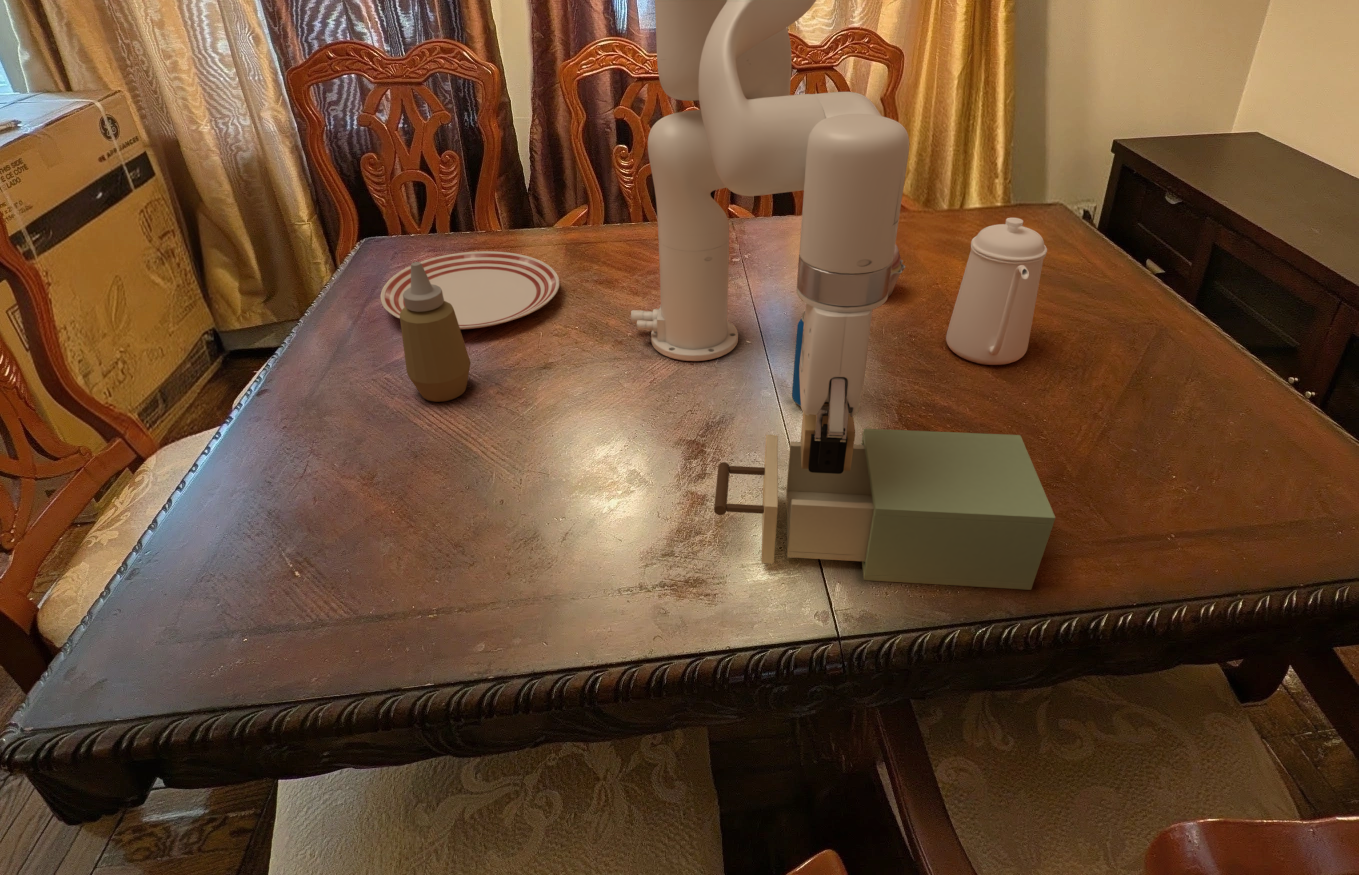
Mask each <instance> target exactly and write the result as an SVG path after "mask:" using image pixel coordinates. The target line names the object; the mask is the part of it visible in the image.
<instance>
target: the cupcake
mask: <svg viewBox="0 0 1359 875" xmlns="http://www.w3.org/2000/svg"><path fill="white" fill-rule="evenodd" d="M899 249H900V248H899V246H898V244H897V243H895V250H894V257H893V264H892V271H891V278H890V284H889V291H888V298H889V297H890V296H891V295H892V294H893V292H894V290H895V287H896V284H897V282H898V280H899V278H900V276H901V275H902V273H903V272H904V271H905V269H906V267H907V266H906V265H905V264H903V262H904V260H903V259H901V253H900V250H899Z"/></svg>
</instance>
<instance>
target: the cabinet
mask: <svg viewBox="0 0 1359 875" xmlns="http://www.w3.org/2000/svg"><path fill="white" fill-rule="evenodd" d="M860 444H861V445H864V447H865V454H866V460H867V467H868V474H869V480H870V487H871V494H872V500H873V507H874V512H873V518H872V524H871V530H870V536H869V542H868V548H867V554H866V560H865V562H864V561H861V567H862V576H863V577H862V578H863V581H872V582H873V581H874V582H888V583H889V582H890V583H904V584H905V583H906V584H907V583H908V584H924V585H925V584H926V585H939V586H940V585H941V586H955V587H956V586H957V587H958V586H959V587H975V588H990V589H1007V590H1008V589H1010V590H1026V591H1027V590H1028V591H1031V590H1032V589H1033V586H1034V582H1035V579H1036V577H1037V574H1038V571H1039V568H1040V566H1041V562H1042V559H1043V557H1044V553H1045V550H1046V548H1047V544H1048V541H1049V538H1050V536H1051V533H1052V529H1053V527H1054V523H1055V520H1056V515H1055V512H1054V510H1053V508H1052V505H1051V503H1050V501H1049V499H1048V496H1047V494H1046V492H1045V489H1044V487H1043V484H1042V482H1041V480H1040V477H1039V475H1038V473H1037V471H1036V469H1035V465H1034V464H1033V461H1032V459H1031V456H1030V454H1029V452H1028V450H1027V447H1026V445H1025V442H1024V440H1023V438H1022V435H1021V434H1006V433H1005V434H1004V433H983V432H982V433H981V432H959V431H958V432H956V431H955V432H954V431H933V430H930V431H929V430H909V429H908V430H906V429H886V428H863V429H862V436H861V442H860Z"/></svg>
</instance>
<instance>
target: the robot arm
mask: <svg viewBox="0 0 1359 875" xmlns="http://www.w3.org/2000/svg"><path fill="white" fill-rule="evenodd" d="M816 2H817V0H654V12H655V13H654V14H655V16H654V17H655V39H656V40H655V41H656V42H655V43H656V44H655V45H656V62H657V63H656V66H657V72H658V80H659V84H660V86H661V88H662V90H663V93H665V94H666V96H668V97H670V98H671V99H674V100H677V101H678V100H679V101H686V102H687V101H689V102H691V101H693V102H694V101H698V102H699V107H700V109H694V110H693V109H692V110H684V111H678V112H675V113H671V114H668V115H666V116H665V115H664V116H663V117H661V118H660V119H658V120H657V121H656V122H655V123H654V124H653V125H652V127H651V128H650V131H649V133H648V136H647V154H648V160H649V166H650V171H651V177H652V182H653V187H654V195H655V203H656V205H655V206H656V216H657V218H656V219H657V239H658V263H659V264H658V265H659V291H660V292H659V293H660V294H659V295H660V298H659V299H660V305H659V308H653V309H652V310H651V311H650V310H643V309H642V310H638V309H637V310H636V309H632V310H631V311H630V324H635V325H636V330H637V331H651V332H650V343H651V345H652V347H653V348H654V349H655V351H657V352H658V353H660V354H661V355H663V356H665V357H668V358H669V359H674V360H679V361H684V362H685V361H686V362H703V361H704V362H705V361H708V360H709V361H710V360H714V359H717V358H720V357H723V356H725V355H727V354H729V353H730V352H732V351H733V350H734V349H735V348H736V346H737V345H738V342H739V331H738V329H737V327H736V326H735V325H734V324H733V323H731V322H730V321H728V320H729V279H730V278H729V275H730V223H729V218H728V216H727V214H726V212H725V210H724V209H723V208H722V207H721V205H720V204H719V203H718V202H717V201H716V200H715V199H714V198H713V197H712V194H711V193H712V192H714V191H717V190H722V189H727V190H728V191H730V192H732V193H733V194H736V195H738V196H743V197H756V196H757V197H758V196H768V195H776V194H783V193H793V192H800V191H803V199H802V212H801V223H800V239H799V251H798V264H797V278H796V290H795V291H796V295H797V297H798V298H799V299H800V301H802V302H803V303H805V310H804V312H805V317H804V327H803V338H802V348H801V356H800V365H799V377H800V399H801V406H800V409H801V411H802V413H803V412H804V413H805V414H806V415H809V414H811V415H816V421H815V434H811V443H810V453H809V464H808V469H809V471H810V472H812V473H832V474H841V473H842V472H843V471H844V463H845V455H846V447H847V439H848V438H847V426H848V415H849V414H850V416H851V417H853V418H854V417H855V416H856V415H857V414H858V413H859V411H860V407H861V401H862V395H863V389H864V382H865V377H866V376H865V375H866V368H867V361H868V354H869V353H868V352H869V344H870V336H871V326H872V317H873V310H875V309H877V308H879V307H881V306H883V305H884V304H885V303H886V302H887V300H888V298H889V297H888V291H889V284H890V278H891V271H892V264H893V257H894V250H895V244H897V243H896V242H897V235H898V228H899V221H900V215H901V208H902V201H903V194H904V186H905V181H906V174H907V167H908V161H909V153H910V137H909V133H908V131H907V129H906V128H905V127H904V126H903V124H901V123H900V122H899V121H897V120H895V119H892V118H889V117H886V116H883V115H882V114H881V112H880V111H879V110H878V108H877V107H876V105H875V104H874V103H873V102H872V101H871V99H870V98H869V97H867V96H866V95H864V94H862V93H858V92H855V91H833V92H832V91H831V92H821V93H803V94H791V83H792V45H791V38H790V34H789V30H788V27H789V26H791V25H792V24H794V23H796V22H797V21H798V20H800V19H801V18H802V17H803V16H805V15H806V14H807V13H808V12H809V11H810V9H811V8H812V7H813V6H814V4H815V3H816ZM823 404H829V406H826V405H823ZM823 416H828V423H827V424H823V426H822V420H823Z"/></svg>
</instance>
